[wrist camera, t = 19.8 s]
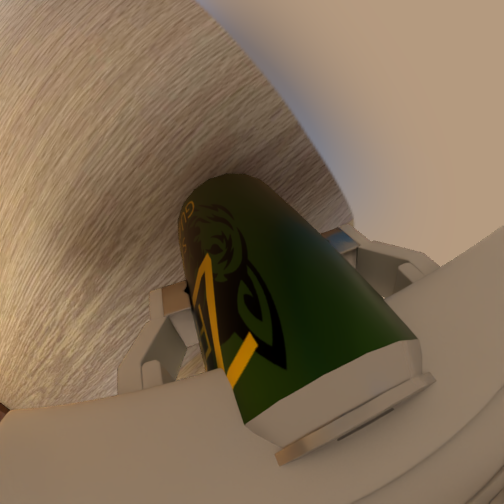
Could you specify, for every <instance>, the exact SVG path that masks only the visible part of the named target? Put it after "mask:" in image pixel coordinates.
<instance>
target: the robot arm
mask: <svg viewBox="0 0 504 504" xmlns="http://www.w3.org/2000/svg"><path fill="white" fill-rule="evenodd" d="M321 235H322V236H323V237H324V238H325V239H326V240H327V241H328V242H329V243H330V244H331V245H332V246H333V247H334V248H335V249H336V250H337V251H338V252H339V253H340V254H341V255H342V256H343V257H344V258H345V259H346V260H347V261H348V262H349V263H350V264H351V265H352V266H353V267H354V268H355V269H356V270H357V271H358V272H359V273H360V274H361V275H362V276H363V277H364V278H365V280H366V281H367V282H368V283H369V284H370V285H371V286H372V287H373V288H374V289H375V290H376V291H377V292H378V293H379V294H380V295H381V296H383V297H385V299H384V301H385V302H386V303H387V304H388V305H389V306H390V307H391V309H392V310H393V311H394V312H395V313H396V314H397V315H398V316H399V318H400V319H401V320H402V321H403V322H404V323H405V324H406V325H407V327H408V328H409V329H410V330H411V331H412V332H413V333H414V335H415V336H416V337H417V338H418V339H419V340H420V345H421V351H422V374H425V373H428V372H430V373H431V374H432V375H433V377H434V378H435V379H436V380H437V381H436V382H434V383H433V384H432V385H430V386H429V387H428V388H426V389H425V390H424V391H422V392H420V393H418V394H415V395H413V396H412V397H410V398H408V399H407V400H405V401H403V402H402V403H400V404H398V405H396V406H394V407H393V408H394V410H393V411H392V412H390V413H388V414H387V415H385V416H384V417H382V418H380V419H379V420H377V421H375V422H373V423H372V424H370V425H368V426H366V427H365V428H363V429H361V430H359V431H357V432H355V433H353V434H352V435H350V436H348V437H346V438H344V439H342V440H340V441H337V439H336V440H335V441H333V442H331V443H329V444H327V445H325V446H323V447H321V448H319V449H317V450H315V451H313V452H312V453H310V454H308V455H306V456H304V457H303V458H301V459H298V460H296V461H293V462H290V463H288V464H285V465H282V466H279V465H278V462H277V460H276V457H275V455H274V454H276V453H278V452H279V451H281V450H283V448H281V447H279V446H277V445H275V444H273V443H271V442H269V441H267V440H265V439H263V438H262V437H260V436H258V435H256V434H255V433H253V432H252V431H251V430H250V429H248V428H247V427H246V426H244V423H243V420H242V417H241V414H240V411H239V408H238V405H237V402H236V399H235V396H234V393H233V389H232V386H231V384H230V382H229V380H228V378H227V377H226V375H225V372H224V371H223V369H221V368H217V369H214V370H211V371H208V372H205V373H201V374H198V375H195V376H191V377H188V378H184V379H181V380H177V381H175V380H176V378H177V375H178V372H179V369H180V367H181V364H182V361H183V359H184V356H185V353H186V350H187V347H189V346H192V345H195V344H198V343H199V341H198V337H197V332H196V328H195V323H194V319H193V308H192V303H191V299H190V296H189V289H188V284H187V280H184V281H181V282H178V283H174V284H171V285H168V286H165V287H162V288H159V289H156V290H153V291H150V293H149V312H150V321H149V322H146V324H145V325H144V327H143V329H142V330H141V332H140V333H139V335H138V336H137V338H136V340H135V341H134V343H133V344H132V346H131V348H130V349H129V351H128V352H127V354H126V356H125V357H124V359H123V361H122V362H121V364H120V365H119V367H118V369H117V391H118V395H116V396H111V397H106V398H100V399H95V400H89V401H83V402H77V403H71V404H64V405H56V406H48V407H39V408H29V409H15V410H11V411H9V412H8V413H7V414H6V415H5V417H4V418H3V419H2V420H1V422H0V504H504V226H502V227H500V228H498V229H497V230H496V231H494V232H493V233H491V234H490V235H489V236H487V237H486V238H484V239H483V240H482V241H480V242H479V243H477V244H476V245H474V246H473V247H471V248H470V249H468V250H467V251H465V252H464V253H462V254H461V255H459V256H457V257H456V258H454V259H453V260H451V261H450V262H448V263H446V264H445V265H443V266H441V267H440V266H439V265H438V264H436V263H435V262H434V261H433V260H431V259H430V258H429V257H428V256H427V255H425V254H424V253H422V252H418V251H414V250H410V249H406V248H402V247H398V246H394V245H390V244H386V243H382V242H378V241H372V242H371V241H369V240H368V239H367V238H366V237H365V236H363V235H362V234H361V233H360V232H359V231H357V230H356V229H355V228H354V227H352V226H351V225H350V224H345V225H342V226H340V227H337V228H336V229H333V230H330V231H327V232H324V233H321Z"/></svg>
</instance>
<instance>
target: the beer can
mask: <svg viewBox="0 0 504 504" xmlns="http://www.w3.org/2000/svg"><path fill="white" fill-rule="evenodd" d="M178 238H179V245H180V251H181V257H182V262H183V268H184V274H185V279H186V280H187V284H188V289H189V296H190V299H191V303H192V308H193V319H194V323H195V328H196V332H197V337H198V341H199V345H200V350H201V354H202V358H203V362H204V366H205V370H206V372H208V371H211V370H214V369H217V368H221V369H223V371H224V372H225V375H226V377H227V378H228V380H229V382H230V384H231V386H232V389H233V393H234V396H235V399H236V402H237V405H238V408H239V411H240V414H241V417H242V420H243V423H244V426H246V427H247V428H248V429H250V430H251V431H252V432H253V433H255V434H256V435H258V436H260V437H262V438H263V439H265V440H267V441H269V442H271V443H273V444H275V445H277V446H279V447H281V448H283V450H281V451H279V452H278V453H276V454H274V455H275V457H276V460H277V462H278V465H279V466H282V465H285V464H288V463H290V462H293V461H296V460H298V459H301V458H303V457H304V456H306V455H308V454H310V453H312V452H313V451H315V450H317V449H319V448H321V447H323V446H325V445H327V444H329V443H331V442H333V441H335V440H336V439H337V441H340V440H342V439H344V438H346V437H348V436H350V435H352V434H353V433H355V432H357V431H359V430H361V429H363V428H365V427H366V426H368V425H370V424H372V423H373V422H375V421H377V420H379V419H380V418H382V417H384V416H385V415H387V414H388V413H390V412H392V411H393V410H394V408H393V407H394V406H396V405H398V404H400V403H402V402H403V401H405V400H407V399H408V398H410V397H412V396H413V395H415V394H418V393H420V392H422V391H424V390H425V389H426V388H428V387H429V386H430V385H432V384H433V383H434V382H436V381H437V380H436V379H435V378H434V377H433V375H432V374H431V373H430V372H428V373H425V374H422V351H421V345H420V340H419V339H418V338H417V337H416V336H415V335H414V333H413V332H412V331H411V330H410V329H409V328H408V327H407V325H406V324H405V323H404V322H403V321H402V320H401V319H400V318H399V316H398V315H397V314H396V313H395V312H394V311H393V310H392V309H391V307H390V306H389V305H388V304H387V303H386V302H385V301H384V299H383V298H382V296H381V295H380V294H379V293H378V292H377V291H376V290H375V289H374V288H373V287H372V286H371V285H370V284H369V283H368V282H367V281H366V280H365V278H364V277H363V276H362V275H361V274H360V273H359V272H358V271H357V270H356V269H355V268H354V267H353V266H352V265H351V264H350V263H349V262H348V261H347V260H346V259H345V258H344V257H343V256H342V255H341V254H340V253H339V252H338V251H337V250H336V249H335V248H334V247H333V246H332V245H331V244H330V243H329V242H328V241H327V240H326V239H325V238H324V237H323V236H322V235H321V234H320V233H319V232H318V231H317V230H316V229H314V228H313V227H312V226H311V225H310V224H309V223H308V222H307V221H306V220H305V219H304V218H303V217H302V216H301V215H300V214H299V213H298V212H296V211H295V210H294V209H293V208H292V207H291V206H290V205H289V204H288V203H287V202H286V201H285V200H283V199H282V198H281V197H280V196H279V195H278V194H277V193H276V192H275V191H274V190H272V189H271V188H270V187H269V186H268V185H266V184H265V183H264V182H263V181H262V180H260V179H258V178H255V177H252V176H250V175H247V174H224V175H221V176H217V177H214V178H211V179H209V180H207V181H206V182H204V183H203V184H202V185H200V186H199V187H197V188H196V189H194V191H193V192H192V193H191V194H190V196H189V197H188V198H187V200H186V201H185V202H184V204H183V206H182V209H181V212H180V215H179V218H178Z"/></svg>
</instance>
